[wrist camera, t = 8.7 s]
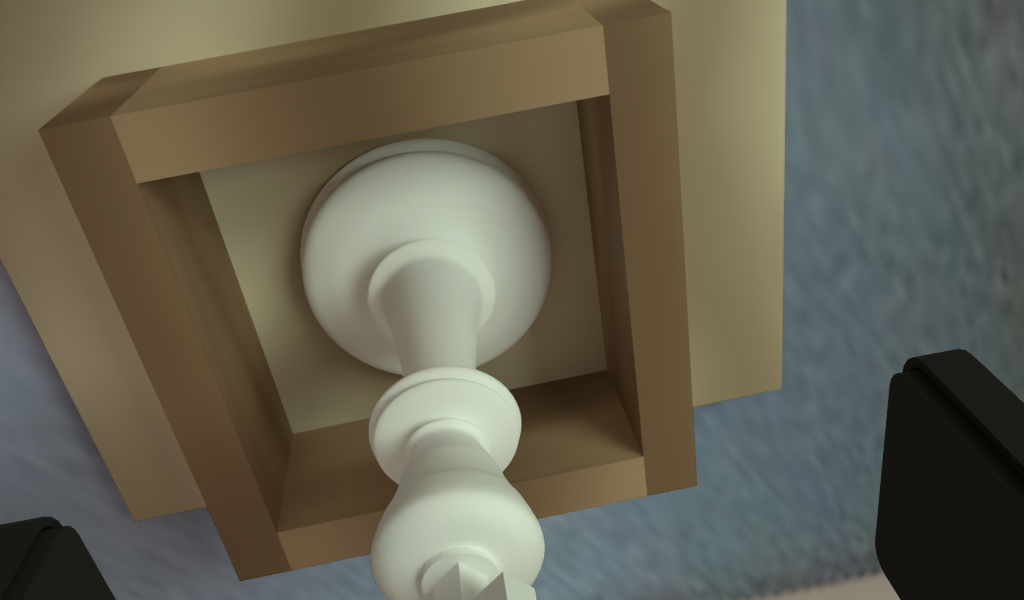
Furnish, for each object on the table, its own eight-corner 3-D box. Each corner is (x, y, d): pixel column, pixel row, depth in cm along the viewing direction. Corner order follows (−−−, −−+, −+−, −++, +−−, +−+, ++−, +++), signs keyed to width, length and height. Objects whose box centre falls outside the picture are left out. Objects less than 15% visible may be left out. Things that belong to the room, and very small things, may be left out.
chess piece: (600, 239, 17) (830, 664, 8) (445, 400, 18) (498, 912, 9) (407, 82, 15) (438, 424, 6) (249, 277, 16) (91, 781, 7)
